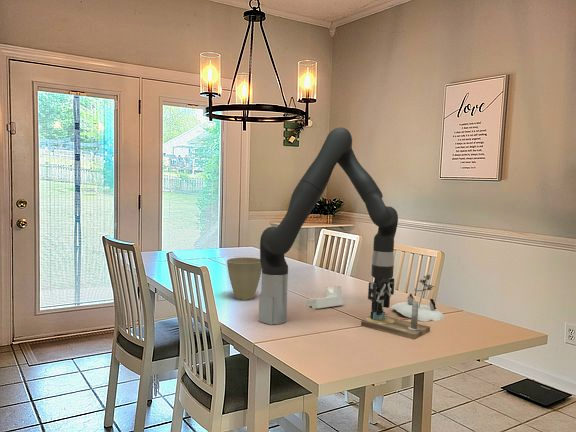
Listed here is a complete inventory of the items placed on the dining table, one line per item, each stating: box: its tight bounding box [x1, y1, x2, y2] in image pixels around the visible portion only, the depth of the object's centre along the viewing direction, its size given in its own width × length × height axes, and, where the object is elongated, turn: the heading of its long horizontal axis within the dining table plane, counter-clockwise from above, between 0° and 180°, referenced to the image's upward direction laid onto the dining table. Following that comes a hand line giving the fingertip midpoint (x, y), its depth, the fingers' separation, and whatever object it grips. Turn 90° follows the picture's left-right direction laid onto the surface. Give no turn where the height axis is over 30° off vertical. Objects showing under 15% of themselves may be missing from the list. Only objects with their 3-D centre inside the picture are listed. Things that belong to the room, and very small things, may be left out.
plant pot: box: [226, 256, 262, 301], centre depth 208 cm, size 15×15×16 cm
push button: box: [370, 292, 389, 320], centre depth 178 cm, size 7×5×10 cm
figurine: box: [390, 273, 445, 323], centre depth 191 cm, size 20×18×16 cm
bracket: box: [305, 285, 345, 310], centre depth 200 cm, size 13×7×8 cm, turn 122°
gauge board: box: [360, 301, 431, 340], centre depth 173 cm, size 12×21×10 cm, turn 50°
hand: (380, 309), depth 177 cm, fingers open, 7 cm apart
